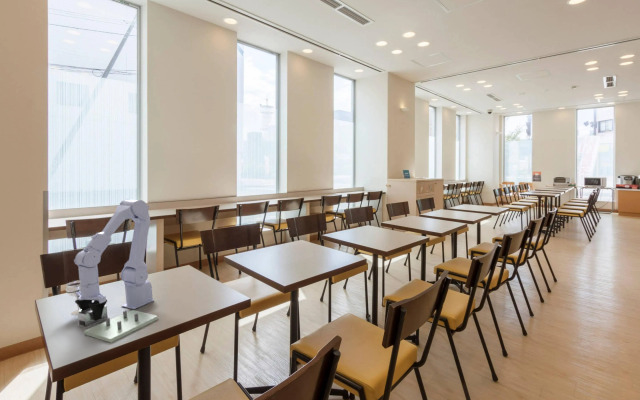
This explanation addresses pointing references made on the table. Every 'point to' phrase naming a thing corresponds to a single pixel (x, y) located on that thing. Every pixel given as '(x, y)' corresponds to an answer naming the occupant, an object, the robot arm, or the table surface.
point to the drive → (90, 317)
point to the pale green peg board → (120, 325)
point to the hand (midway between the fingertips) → (92, 318)
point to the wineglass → (73, 292)
